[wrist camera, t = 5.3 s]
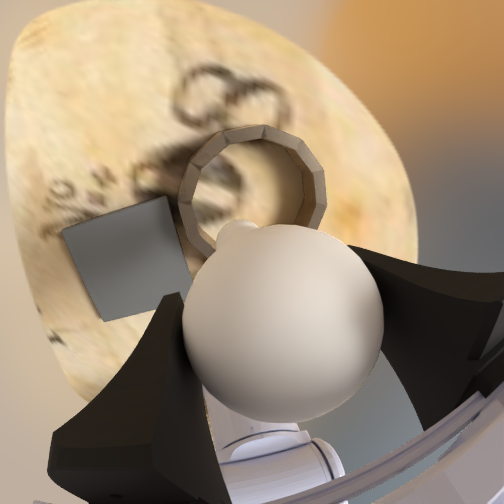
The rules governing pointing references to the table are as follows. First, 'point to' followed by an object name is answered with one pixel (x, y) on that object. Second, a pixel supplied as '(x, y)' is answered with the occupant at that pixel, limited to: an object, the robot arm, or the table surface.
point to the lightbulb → (282, 322)
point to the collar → (294, 146)
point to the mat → (129, 258)
